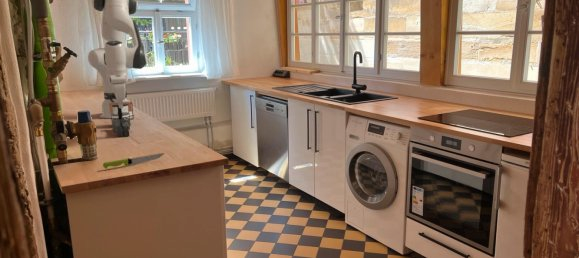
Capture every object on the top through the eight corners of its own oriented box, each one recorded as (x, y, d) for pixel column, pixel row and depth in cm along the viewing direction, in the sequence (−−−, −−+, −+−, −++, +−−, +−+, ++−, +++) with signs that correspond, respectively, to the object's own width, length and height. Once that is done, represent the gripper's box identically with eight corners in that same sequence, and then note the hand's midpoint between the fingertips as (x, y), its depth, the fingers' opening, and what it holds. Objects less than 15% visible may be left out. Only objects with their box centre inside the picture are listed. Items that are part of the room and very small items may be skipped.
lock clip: (131, 110, 204) (130, 100, 203) (131, 111, 201) (130, 101, 200) (109, 112, 200) (108, 102, 199) (110, 113, 197) (109, 103, 196)
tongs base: (112, 129, 216) (111, 118, 215) (129, 127, 220) (128, 117, 218) (114, 137, 199) (113, 126, 198) (132, 135, 203) (131, 124, 201)
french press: (109, 128, 219) (105, 83, 214) (110, 124, 227) (105, 81, 222) (134, 126, 223) (130, 81, 218) (133, 122, 231) (129, 80, 226)
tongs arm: (122, 130, 214) (121, 122, 213) (127, 129, 215) (126, 121, 214) (123, 136, 201) (123, 127, 200) (129, 135, 202) (128, 127, 201)
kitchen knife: (164, 159, 166) (163, 152, 166) (165, 160, 165) (165, 152, 165) (103, 170, 154) (102, 162, 153) (104, 171, 153) (103, 163, 152)
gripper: (109, 75, 205) (112, 104, 208) (111, 79, 187) (114, 111, 190) (123, 75, 208) (126, 103, 211) (126, 79, 189) (129, 110, 192)
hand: (120, 107), depth 200 cm, fingers closed on lock clip, 3 cm apart
